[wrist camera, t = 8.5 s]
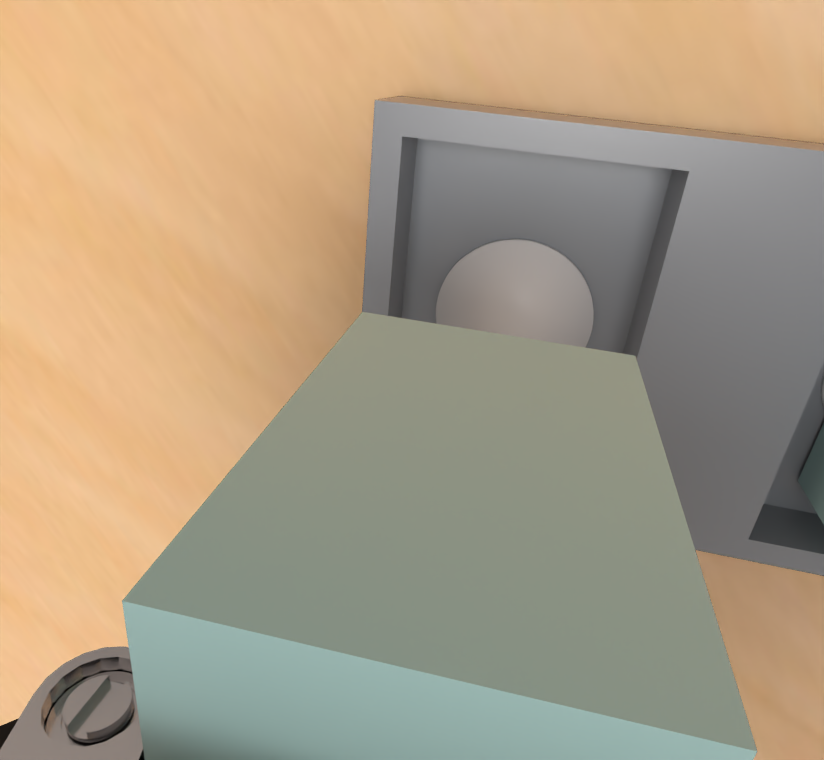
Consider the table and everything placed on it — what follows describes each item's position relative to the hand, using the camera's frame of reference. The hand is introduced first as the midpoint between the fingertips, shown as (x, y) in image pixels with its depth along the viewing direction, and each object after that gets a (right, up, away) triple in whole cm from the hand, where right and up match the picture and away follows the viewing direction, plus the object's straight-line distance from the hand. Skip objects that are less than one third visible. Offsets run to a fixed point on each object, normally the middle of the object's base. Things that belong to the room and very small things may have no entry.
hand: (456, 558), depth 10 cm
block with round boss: (0, 0, +1) cm, 1 cm away
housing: (+9, +4, +10) cm, 14 cm away
